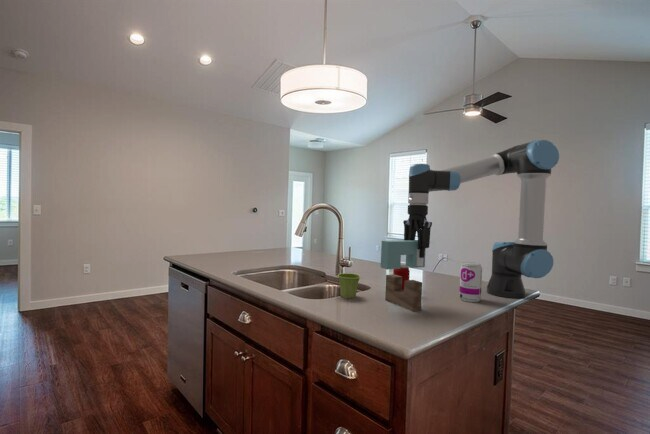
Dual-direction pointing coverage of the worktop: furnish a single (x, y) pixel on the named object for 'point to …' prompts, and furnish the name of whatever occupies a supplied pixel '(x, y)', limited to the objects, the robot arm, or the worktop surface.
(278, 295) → the worktop surface
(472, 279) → the supplement can
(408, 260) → the teal tunnel brick
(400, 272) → the beverage can
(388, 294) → the brown wooden notched block
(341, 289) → the plant pot
